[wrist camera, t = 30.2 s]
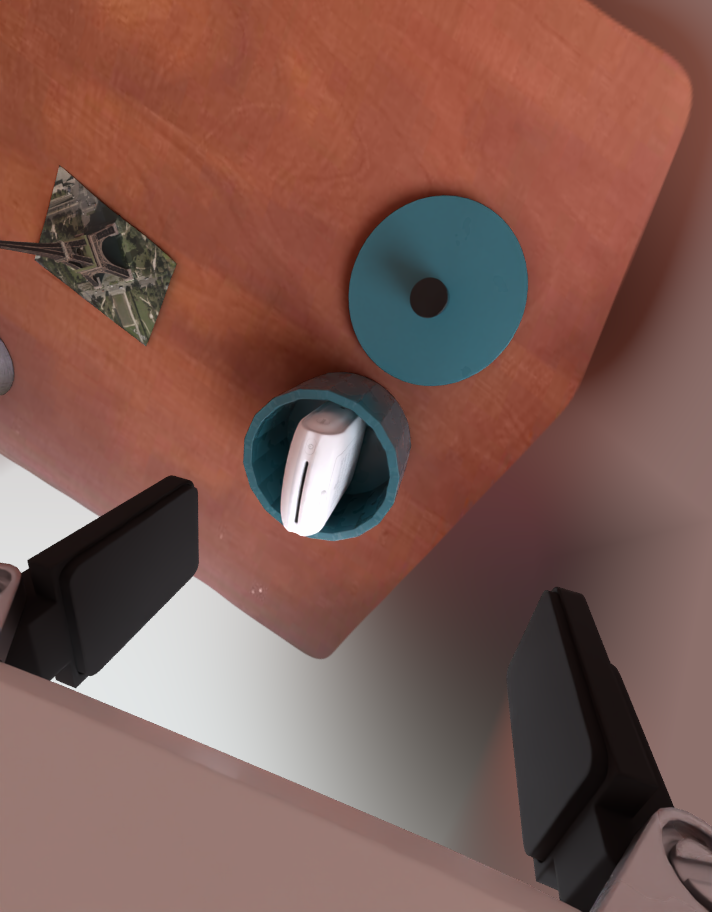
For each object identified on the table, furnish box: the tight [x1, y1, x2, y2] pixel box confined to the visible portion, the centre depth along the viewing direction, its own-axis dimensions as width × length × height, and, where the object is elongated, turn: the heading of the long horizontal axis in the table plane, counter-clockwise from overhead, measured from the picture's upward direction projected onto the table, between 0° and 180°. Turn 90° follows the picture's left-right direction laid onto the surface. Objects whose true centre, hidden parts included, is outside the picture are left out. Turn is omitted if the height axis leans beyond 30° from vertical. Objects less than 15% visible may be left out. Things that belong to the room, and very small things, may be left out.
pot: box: [243, 372, 411, 541], centre depth 37 cm, size 14×14×8 cm
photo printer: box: [281, 400, 367, 536], centre depth 35 cm, size 10×4×12 cm, turn 167°
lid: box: [349, 195, 528, 386], centre depth 32 cm, size 15×15×6 cm
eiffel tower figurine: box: [0, 165, 176, 346], centre depth 35 cm, size 15×10×13 cm
